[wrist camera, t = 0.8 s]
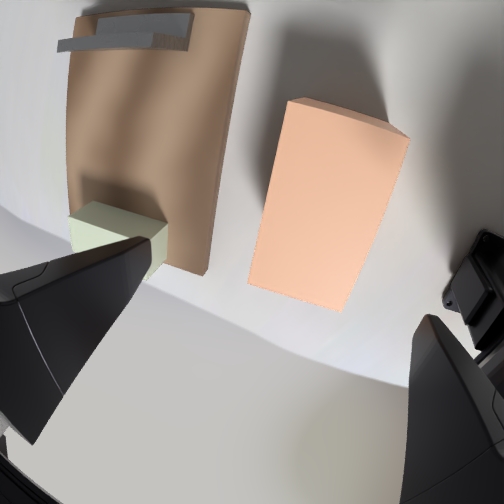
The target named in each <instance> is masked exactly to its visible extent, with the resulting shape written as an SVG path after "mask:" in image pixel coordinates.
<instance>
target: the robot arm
mask: <svg viewBox="0 0 504 504" xmlns="http://www.w3.org/2000/svg"><path fill="white" fill-rule="evenodd" d="M485 235H487V238H486V239H483V237H484V236H485ZM151 263H152V248H151V240H150V239H149V238H146V237H143V236H136V237H132V238H128V239H125V240H121V241H117V242H114V243H110V244H106V245H103V246H99V247H96V248H92V249H89V250H85V251H82V252H78V253H75V254H71V255H68V256H65V257H61V258H58V259H55V260H51V261H50V262H44V263H41V264H38V265H34V266H31V267H28V268H24V269H20V270H16V271H13V272H8V273H4V274H0V504H63V503H61V502H60V501H59V500H57V499H56V498H54V497H53V496H52V495H50V494H49V493H48V492H47V491H45V490H44V489H43V488H41V487H40V486H39V485H38V484H36V483H35V482H34V481H33V480H31V479H30V478H29V477H28V476H27V475H25V474H24V473H23V472H22V471H21V470H20V469H18V468H17V467H16V466H15V465H14V464H13V463H12V462H11V461H10V460H9V459H8V456H7V446H6V437H5V436H4V435H3V433H4V432H5V431H6V429H7V428H8V427H9V426H10V427H11V428H12V429H13V430H14V431H16V432H17V433H18V434H19V435H20V436H21V437H23V438H24V439H25V440H26V441H27V442H29V443H30V444H31V445H33V444H34V443H35V442H36V440H37V438H38V437H39V435H40V433H41V432H42V430H43V428H44V427H45V425H46V424H47V422H48V420H49V419H50V417H51V415H52V414H53V412H54V411H55V409H56V407H57V406H58V404H59V403H60V401H61V400H62V398H63V395H64V394H65V393H66V392H67V390H68V389H69V387H70V385H71V384H72V383H73V381H74V379H75V378H76V377H77V375H78V373H79V372H80V371H81V369H82V368H83V366H84V365H85V363H86V361H87V360H88V359H89V357H90V356H91V354H92V353H93V351H94V350H95V349H96V347H97V346H98V344H99V343H100V342H101V340H102V339H103V337H104V336H105V334H106V333H107V332H108V330H109V329H110V327H111V326H112V325H113V323H114V322H115V320H116V319H117V318H118V316H119V315H120V314H121V312H122V311H123V309H124V308H125V307H126V305H127V304H128V303H129V301H130V300H131V298H132V296H133V295H134V293H135V292H136V290H137V288H138V286H139V284H140V283H141V281H142V280H143V278H144V276H145V275H146V273H147V271H148V270H149V268H150V266H151ZM448 301H451V302H450V303H447V302H448ZM442 303H443V306H444V308H446V309H448V310H452V311H455V312H458V313H461V316H462V318H463V321H464V324H465V325H467V326H468V329H469V331H470V334H471V337H472V341H473V344H474V347H475V349H476V350H480V351H481V353H480V354H479V355H478V356H477V357H476V358H475V359H474V360H473V358H472V357H471V356H470V354H469V353H468V352H467V351H466V349H465V348H464V347H463V346H462V345H461V343H460V342H459V341H458V340H457V338H456V337H455V336H454V335H453V334H452V332H451V331H450V330H449V329H448V328H447V326H446V325H445V324H444V323H443V322H442V321H441V319H440V318H439V317H438V316H435V315H431V314H426V315H425V316H424V317H423V319H422V321H421V322H420V324H419V326H418V328H417V329H416V331H415V333H414V335H413V340H412V353H411V364H410V374H409V402H408V404H409V405H408V427H407V443H406V455H405V465H404V475H403V482H402V490H401V497H400V503H399V504H504V237H503V236H501V235H498V234H496V233H494V232H492V231H490V230H488V229H483V230H481V231H480V232H479V234H478V236H477V238H476V240H475V242H474V244H473V246H472V248H471V250H470V252H469V254H468V255H467V256H466V257H465V259H464V261H463V263H462V265H461V267H460V268H459V270H458V272H457V274H456V276H455V277H454V279H453V281H452V283H451V286H450V288H449V290H448V291H447V293H446V295H445V296H444V298H443V300H442Z"/></svg>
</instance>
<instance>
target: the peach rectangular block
mask: <svg viewBox="0 0 504 504" xmlns="http://www.w3.org/2000/svg"><path fill="white" fill-rule="evenodd" d="M409 142H410V138H408V137H407V136H406V135H405V134H403V133H402V132H401V131H399V130H398V129H397V128H395V127H394V126H393V125H391V124H390V123H388V122H385V121H383V120H380V119H377V118H374V117H371V116H368V115H365V114H362V113H359V112H356V111H352V110H349V109H346V108H343V107H339V106H336V105H332V104H329V103H325V102H322V101H318V100H314V99H310V98H306V97H302V98H298V99H294V100H290V101H288V103H287V107H286V112H285V116H284V121H283V125H282V130H281V134H280V139H279V143H278V148H277V152H276V157H275V161H274V166H273V170H272V175H271V179H270V184H269V188H268V193H267V197H266V201H265V206H264V210H263V215H262V219H261V224H260V228H259V233H258V237H257V242H256V246H255V251H254V255H253V260H252V264H251V268H250V273H249V277H248V282H247V284H251V285H254V286H257V287H260V288H263V289H266V290H269V291H273V292H276V293H279V294H282V295H285V296H289V297H292V298H295V299H298V300H302V301H305V302H308V303H312V304H315V305H318V306H321V307H325V308H328V309H331V310H335V311H338V312H342V310H343V308H344V306H345V303H346V301H347V299H348V297H349V295H350V293H351V291H352V289H353V286H354V284H355V282H356V280H357V278H358V275H359V273H360V271H361V269H362V266H363V264H364V262H365V259H366V257H367V255H368V252H369V250H370V248H371V245H372V243H373V241H374V238H375V236H376V233H377V231H378V228H379V226H380V223H381V221H382V218H383V216H384V213H385V210H386V208H387V205H388V202H389V200H390V197H391V194H392V192H393V189H394V186H395V183H396V181H397V178H398V175H399V172H400V169H401V166H402V163H403V160H404V157H405V154H406V151H407V148H408V145H409Z"/></svg>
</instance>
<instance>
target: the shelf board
mask: <svg viewBox="0 0 504 504" xmlns="http://www.w3.org/2000/svg"><path fill="white" fill-rule="evenodd" d="M159 13H191V14H194V15H195V17H194V21H193V27H192V32H191V37H190V42H189V48H188V52H186V51H168V50H107V51H75V52H71V55H70V64H69V75H68V88H67V107H66V164H67V184H68V198H69V209H70V215H71V214H72V213H74V212H76V211H77V210H79V209H80V208H82V207H84V206H85V205H87V204H88V203H90V202H92V201H96V202H100V203H103V204H106V205H109V206H113V207H116V208H119V209H123V210H126V211H129V212H133V213H136V214H139V215H142V216H146V217H149V218H152V219H156V220H159V221H162V222H166V223H168V240H167V259H166V260H165V261H164V262H163V263H165V264H168V265H171V266H174V267H177V268H180V269H183V270H185V271H188V272H191V273H194V274H197V275H200V276H203V275H204V274H205V272H206V271H207V270H208V264H209V256H210V248H211V241H212V234H213V226H214V219H215V212H216V206H217V199H218V192H219V185H220V179H221V173H222V166H223V160H224V154H225V148H226V142H227V136H228V130H229V124H230V118H231V113H232V107H233V102H234V96H235V91H236V85H237V80H238V75H239V70H240V64H241V59H242V54H243V49H244V44H245V39H246V35H247V30H248V25H249V20H250V16H251V14H250V13H249V12H247V11H246V10H235V9H221V8H192V7H178V8H150V9H135V10H125V11H116V12H108V13H100V14H94V15H88V16H82V17H76V20H75V26H74V32H73V38H76V37H84V36H93V35H96V29H97V23H98V19H99V18H107V17H116V16H126V15H139V14H159Z"/></svg>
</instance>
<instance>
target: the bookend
mask: <svg viewBox="0 0 504 504" xmlns="http://www.w3.org/2000/svg"><path fill="white" fill-rule="evenodd" d="M194 17H195V15H194V14H191V13H159V14H139V15H126V16H116V17H107V18H99V19H98V23H97V29H96V35H93V36H84V37H76V38H69V39H63V40H58V47H57V52H75V51H107V50H168V51H186V52H188V48H189V42H190V37H191V32H192V27H193V21H194Z"/></svg>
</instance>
